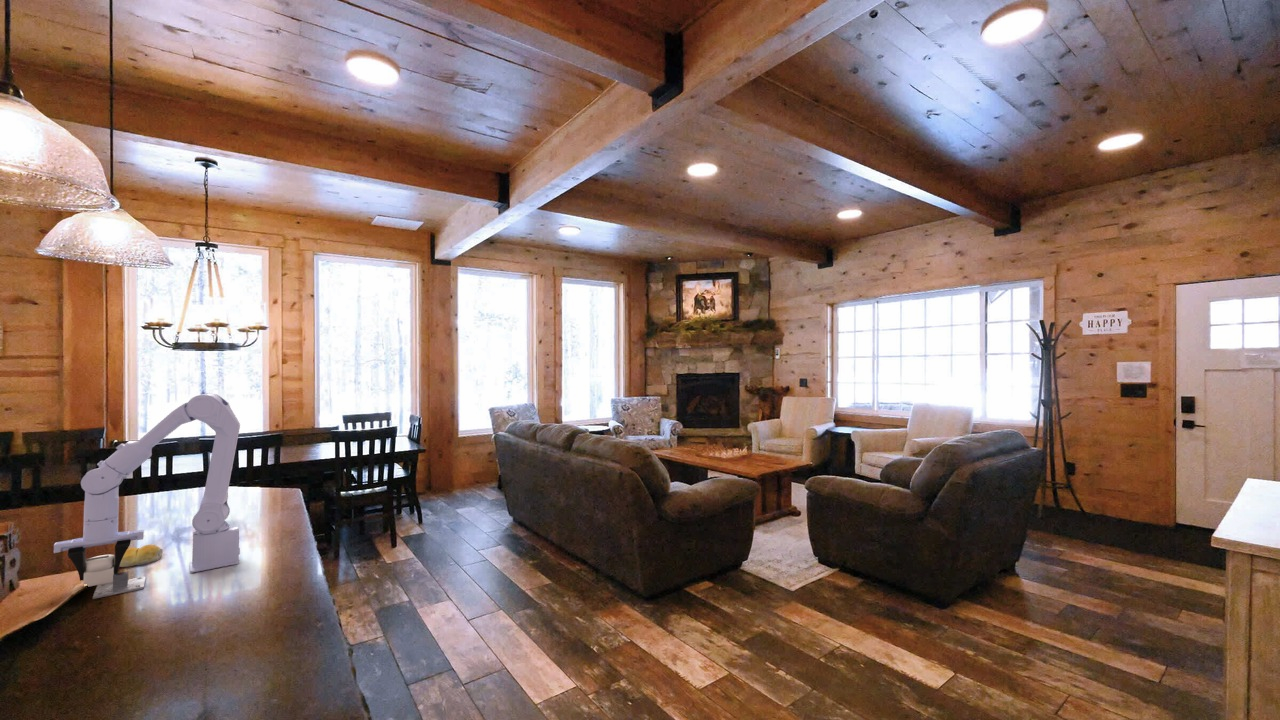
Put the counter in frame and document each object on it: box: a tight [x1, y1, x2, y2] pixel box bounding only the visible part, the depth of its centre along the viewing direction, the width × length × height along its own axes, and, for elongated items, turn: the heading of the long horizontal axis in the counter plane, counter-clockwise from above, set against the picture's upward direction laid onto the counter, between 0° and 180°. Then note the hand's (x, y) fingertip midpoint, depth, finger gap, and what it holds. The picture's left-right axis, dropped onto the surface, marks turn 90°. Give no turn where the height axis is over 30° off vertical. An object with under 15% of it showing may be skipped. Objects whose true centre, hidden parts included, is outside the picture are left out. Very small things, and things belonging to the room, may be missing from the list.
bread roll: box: [119, 544, 164, 568], centre depth 134 cm, size 8×9×4 cm
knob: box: [82, 554, 115, 587], centre depth 121 cm, size 5×5×6 cm
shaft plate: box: [92, 570, 147, 600], centre depth 117 cm, size 8×8×3 cm
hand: (99, 576), depth 121 cm, fingers closed on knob, 5 cm apart
